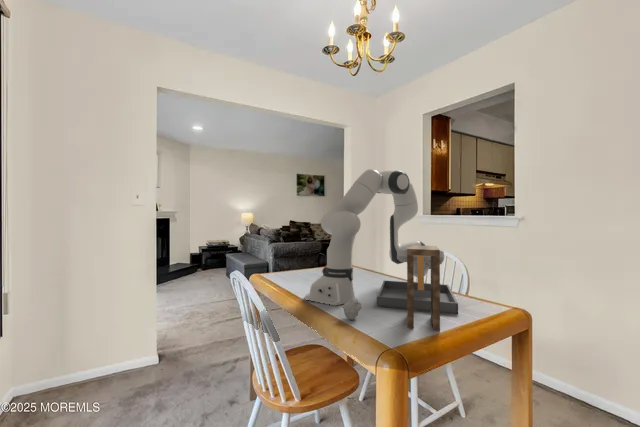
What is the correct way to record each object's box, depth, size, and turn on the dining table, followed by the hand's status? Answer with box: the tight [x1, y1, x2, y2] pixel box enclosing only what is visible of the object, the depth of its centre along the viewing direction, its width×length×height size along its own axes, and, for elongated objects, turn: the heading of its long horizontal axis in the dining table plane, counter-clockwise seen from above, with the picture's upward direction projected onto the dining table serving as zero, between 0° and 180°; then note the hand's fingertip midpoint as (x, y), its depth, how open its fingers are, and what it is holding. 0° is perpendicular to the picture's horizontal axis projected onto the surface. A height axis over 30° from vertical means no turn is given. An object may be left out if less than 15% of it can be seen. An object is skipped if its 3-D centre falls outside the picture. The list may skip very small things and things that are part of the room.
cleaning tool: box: [414, 255, 431, 298], centre depth 123 cm, size 9×22×3 cm
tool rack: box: [406, 245, 441, 332], centre depth 98 cm, size 10×12×26 cm
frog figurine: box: [341, 299, 363, 321], centre depth 102 cm, size 6×7×7 cm
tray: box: [376, 280, 459, 315], centre depth 126 cm, size 30×30×4 cm
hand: (420, 249), depth 124 cm, fingers closed on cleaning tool, 2 cm apart
